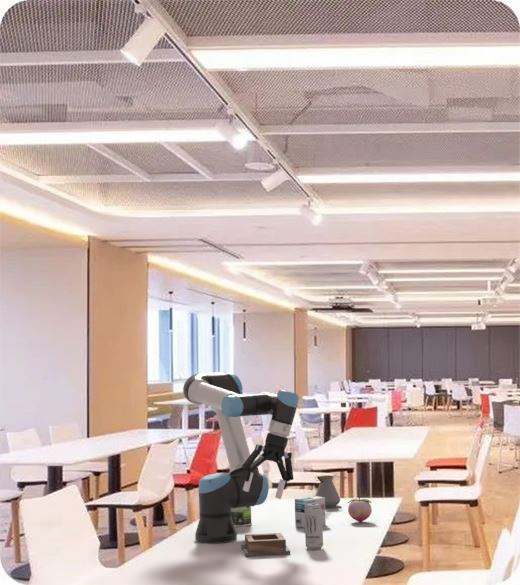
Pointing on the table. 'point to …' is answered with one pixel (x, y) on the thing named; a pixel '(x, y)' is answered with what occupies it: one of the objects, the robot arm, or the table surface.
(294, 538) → the table surface
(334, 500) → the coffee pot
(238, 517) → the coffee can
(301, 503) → the light bulb box
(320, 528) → the energy drink can
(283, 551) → the brown wooden open box
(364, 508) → the decorative fruit
